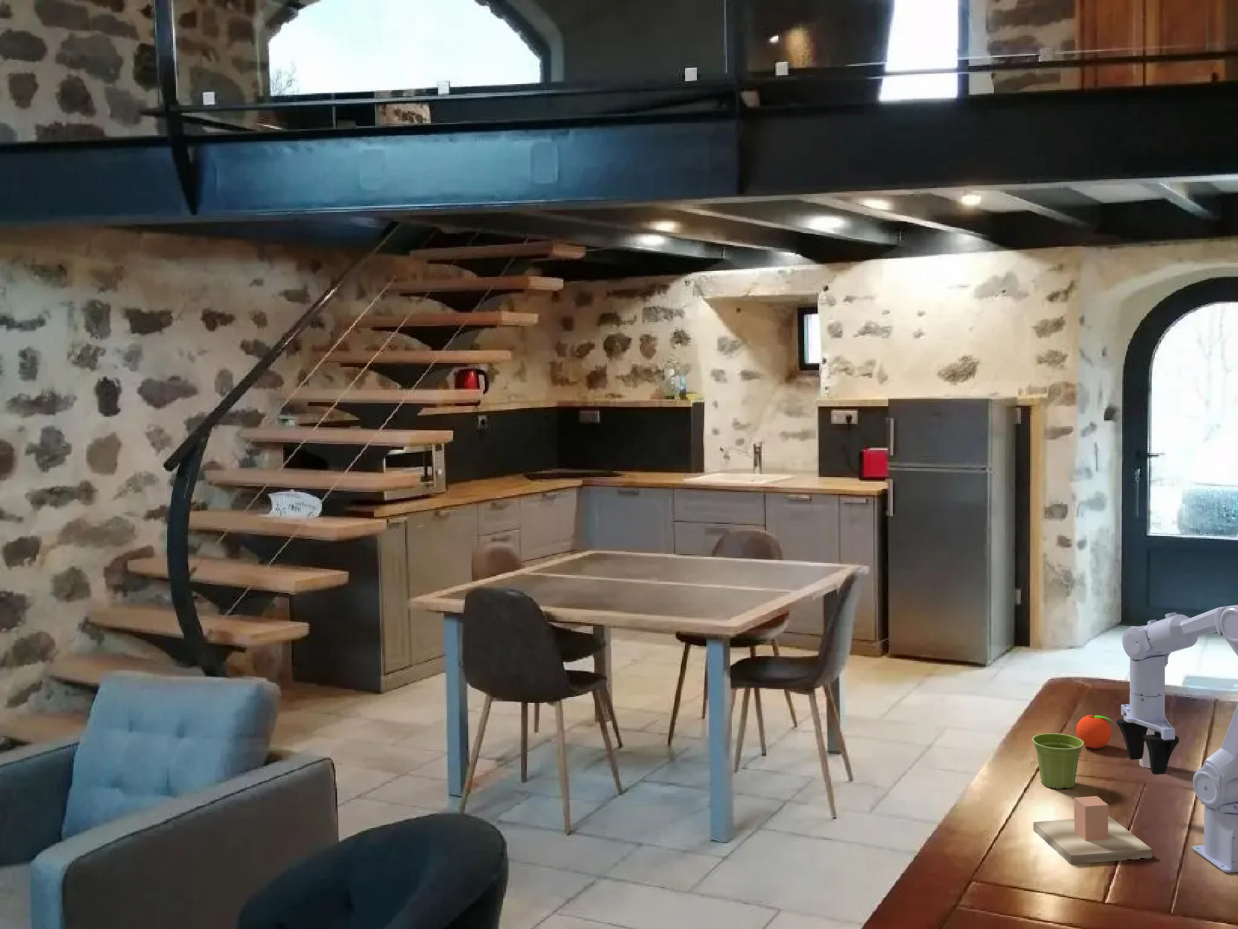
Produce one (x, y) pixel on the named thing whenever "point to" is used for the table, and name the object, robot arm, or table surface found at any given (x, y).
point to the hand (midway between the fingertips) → (1146, 766)
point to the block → (1091, 818)
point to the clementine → (1094, 731)
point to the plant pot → (1057, 758)
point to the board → (1091, 842)
